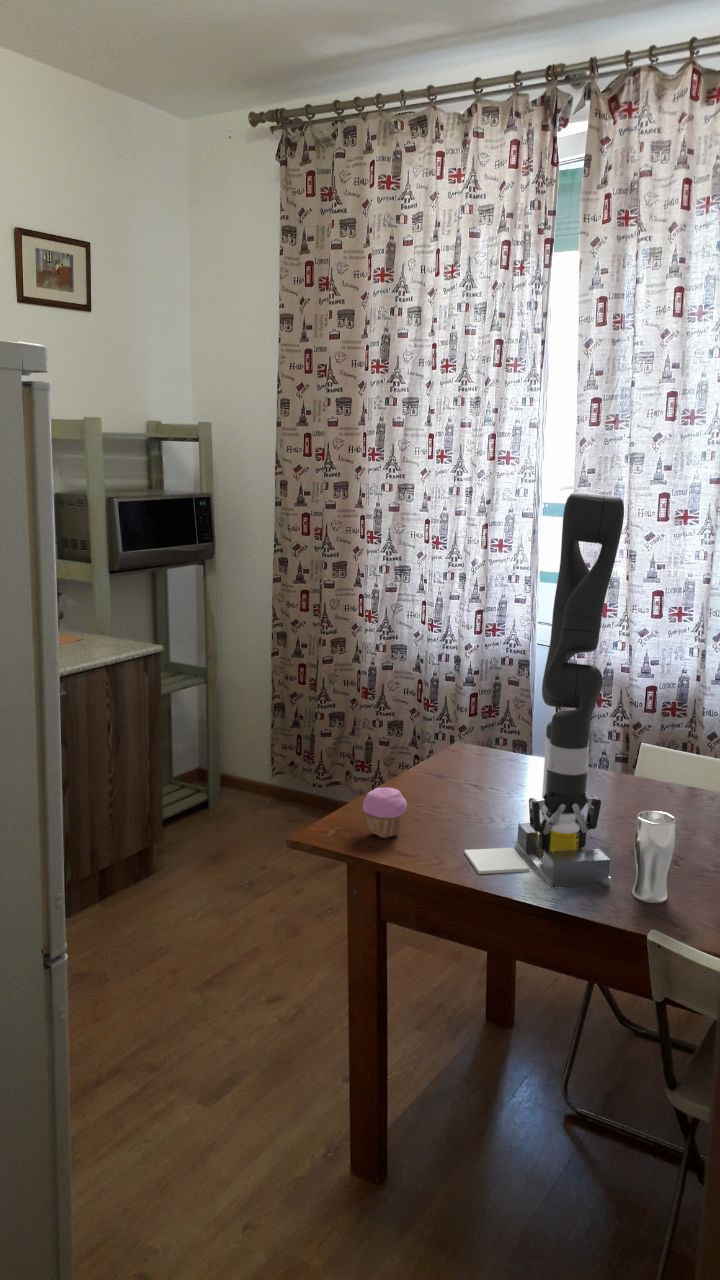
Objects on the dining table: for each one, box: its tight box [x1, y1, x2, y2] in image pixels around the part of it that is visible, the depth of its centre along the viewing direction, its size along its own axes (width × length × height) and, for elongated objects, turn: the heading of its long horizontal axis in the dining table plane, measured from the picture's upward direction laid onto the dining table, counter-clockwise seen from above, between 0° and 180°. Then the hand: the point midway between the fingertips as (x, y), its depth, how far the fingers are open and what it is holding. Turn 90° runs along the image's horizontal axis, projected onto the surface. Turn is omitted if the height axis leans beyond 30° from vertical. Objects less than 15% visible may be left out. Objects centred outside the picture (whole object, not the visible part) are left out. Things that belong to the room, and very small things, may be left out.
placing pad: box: [463, 847, 531, 875], centre depth 193 cm, size 10×10×1 cm
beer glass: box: [632, 810, 677, 904], centre depth 179 cm, size 7×7×15 cm
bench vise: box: [514, 821, 612, 889], centre depth 192 cm, size 19×12×5 cm, turn 10°
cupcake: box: [362, 787, 408, 839], centre depth 204 cm, size 9×9×10 cm
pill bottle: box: [549, 813, 580, 851], centre depth 191 cm, size 6×6×11 cm
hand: (561, 849), depth 192 cm, fingers closed on pill bottle, 6 cm apart
